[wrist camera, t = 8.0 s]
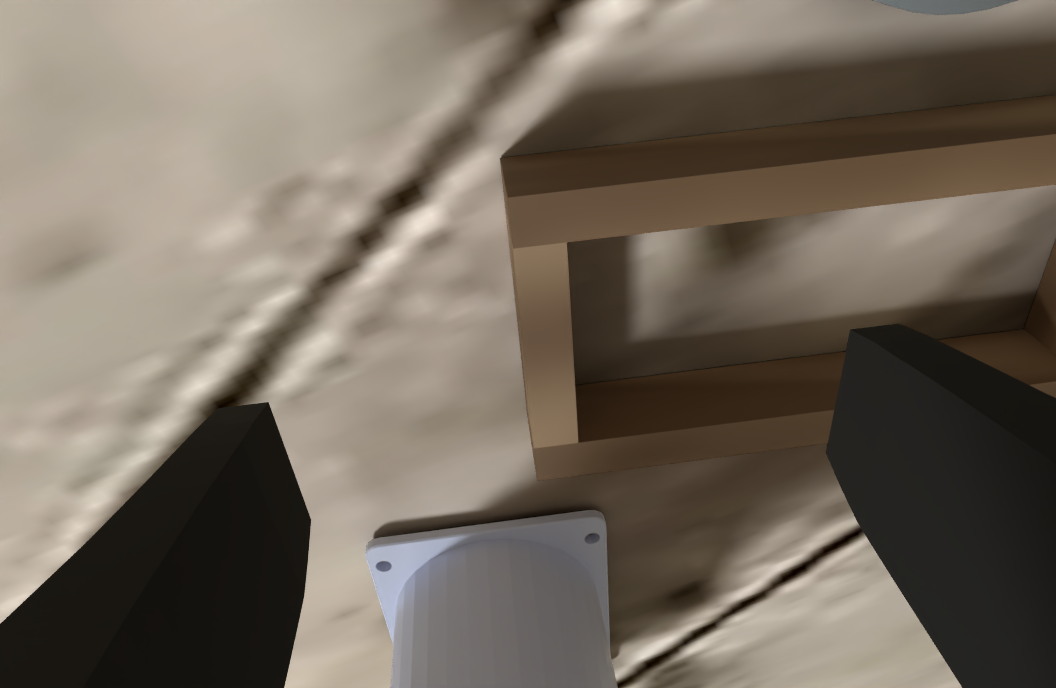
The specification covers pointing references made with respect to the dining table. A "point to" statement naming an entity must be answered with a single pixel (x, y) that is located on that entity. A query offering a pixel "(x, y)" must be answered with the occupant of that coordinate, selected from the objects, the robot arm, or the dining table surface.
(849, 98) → the dining table surface
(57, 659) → the robot arm
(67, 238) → the dining table surface
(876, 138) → the pocket frame
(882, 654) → the dining table surface
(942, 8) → the coaster
